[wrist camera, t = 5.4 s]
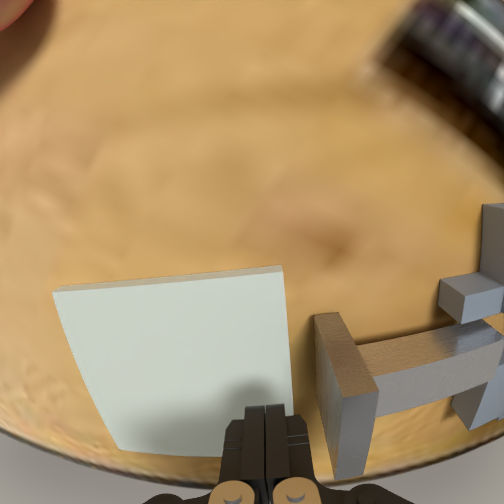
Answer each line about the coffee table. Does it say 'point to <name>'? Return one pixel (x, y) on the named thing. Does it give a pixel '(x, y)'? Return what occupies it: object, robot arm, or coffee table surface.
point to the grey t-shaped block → (392, 379)
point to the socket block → (480, 316)
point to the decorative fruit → (12, 11)
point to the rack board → (180, 354)
